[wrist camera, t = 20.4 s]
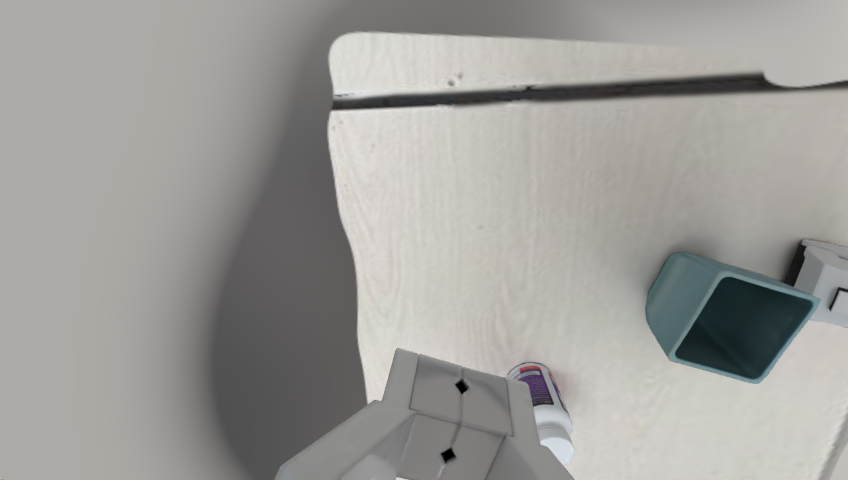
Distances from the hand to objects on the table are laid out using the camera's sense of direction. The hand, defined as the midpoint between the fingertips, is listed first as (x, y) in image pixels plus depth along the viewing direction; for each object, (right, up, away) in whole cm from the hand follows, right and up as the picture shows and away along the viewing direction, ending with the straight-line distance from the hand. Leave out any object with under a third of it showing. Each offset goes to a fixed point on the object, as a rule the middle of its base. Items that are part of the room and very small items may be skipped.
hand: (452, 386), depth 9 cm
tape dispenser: (+37, +1, +31) cm, 48 cm away
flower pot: (+25, -1, +32) cm, 41 cm away
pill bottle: (+11, -13, +36) cm, 40 cm away
